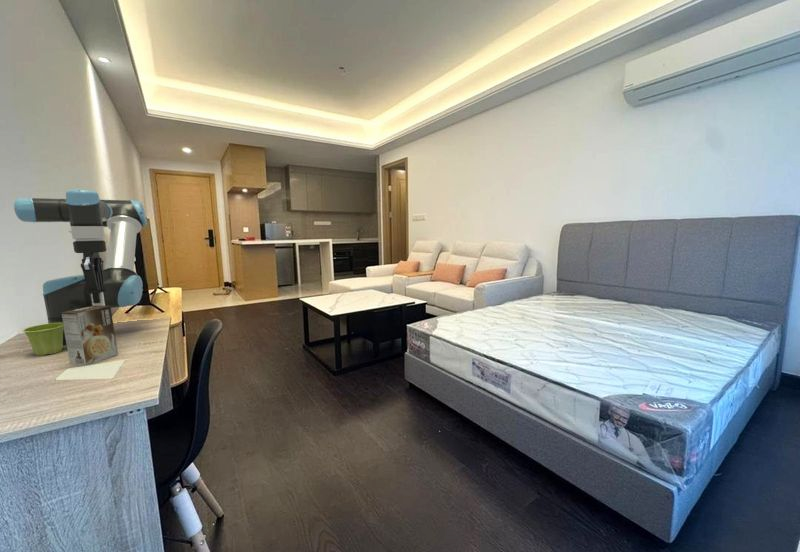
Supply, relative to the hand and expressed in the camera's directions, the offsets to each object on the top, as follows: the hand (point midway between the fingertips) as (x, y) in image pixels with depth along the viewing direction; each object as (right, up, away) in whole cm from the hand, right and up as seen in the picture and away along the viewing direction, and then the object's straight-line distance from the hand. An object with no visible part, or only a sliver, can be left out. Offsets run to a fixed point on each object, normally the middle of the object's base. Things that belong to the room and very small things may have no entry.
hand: (99, 312), depth 107 cm
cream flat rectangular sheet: (+15, -15, -20) cm, 29 cm away
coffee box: (+6, -14, -8) cm, 17 cm away
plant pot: (-15, -13, -1) cm, 20 cm away
